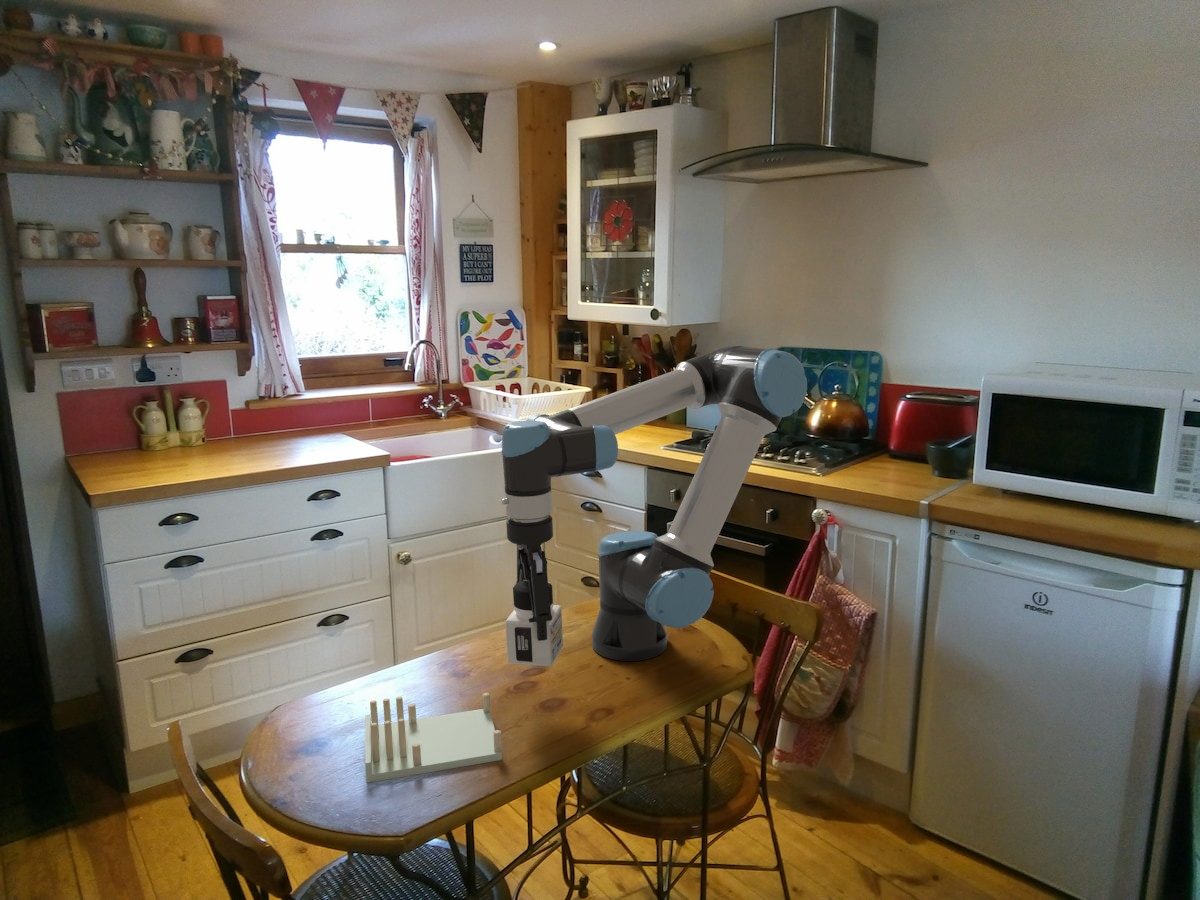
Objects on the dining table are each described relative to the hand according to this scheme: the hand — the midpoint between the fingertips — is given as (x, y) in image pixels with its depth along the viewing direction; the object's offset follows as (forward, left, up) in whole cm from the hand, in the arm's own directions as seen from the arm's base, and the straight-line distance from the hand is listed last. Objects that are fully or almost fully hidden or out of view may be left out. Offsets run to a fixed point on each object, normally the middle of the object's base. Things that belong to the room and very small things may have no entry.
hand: (535, 642), depth 138 cm
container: (0, 0, -3) cm, 3 cm away
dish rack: (+18, +7, -12) cm, 23 cm away
